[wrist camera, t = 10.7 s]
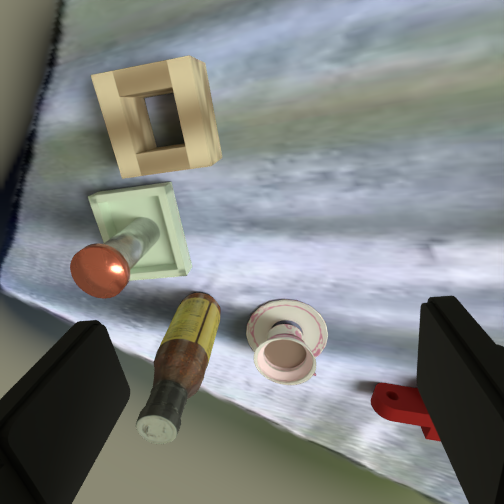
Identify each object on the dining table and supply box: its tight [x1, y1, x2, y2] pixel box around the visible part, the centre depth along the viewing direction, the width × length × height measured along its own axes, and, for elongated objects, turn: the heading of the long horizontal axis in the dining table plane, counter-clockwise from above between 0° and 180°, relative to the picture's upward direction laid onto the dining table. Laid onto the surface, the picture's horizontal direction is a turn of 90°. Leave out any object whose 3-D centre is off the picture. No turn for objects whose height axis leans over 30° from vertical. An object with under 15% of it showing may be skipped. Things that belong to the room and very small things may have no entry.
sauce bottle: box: [136, 293, 220, 444], centre depth 40 cm, size 6×6×20 cm
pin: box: [70, 217, 160, 298], centre depth 38 cm, size 6×6×12 cm
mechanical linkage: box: [371, 382, 441, 441], centre depth 49 cm, size 16×7×5 cm, turn 84°
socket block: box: [91, 56, 222, 179], centre depth 36 cm, size 10×10×6 cm
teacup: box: [246, 299, 328, 385], centre depth 46 cm, size 12×12×6 cm
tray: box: [88, 182, 192, 281], centre depth 43 cm, size 12×10×3 cm
